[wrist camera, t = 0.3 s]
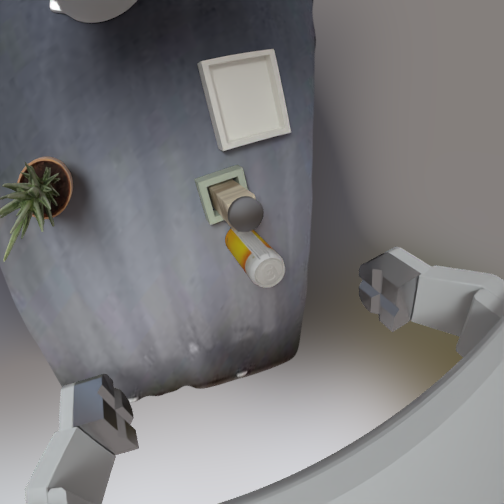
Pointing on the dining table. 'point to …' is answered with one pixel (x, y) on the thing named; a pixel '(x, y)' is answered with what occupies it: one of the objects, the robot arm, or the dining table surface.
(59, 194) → the potted plant
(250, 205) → the wooden pepper mill
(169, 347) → the dining table surface
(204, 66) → the tray
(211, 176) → the socket block
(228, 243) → the orange pill bottle
